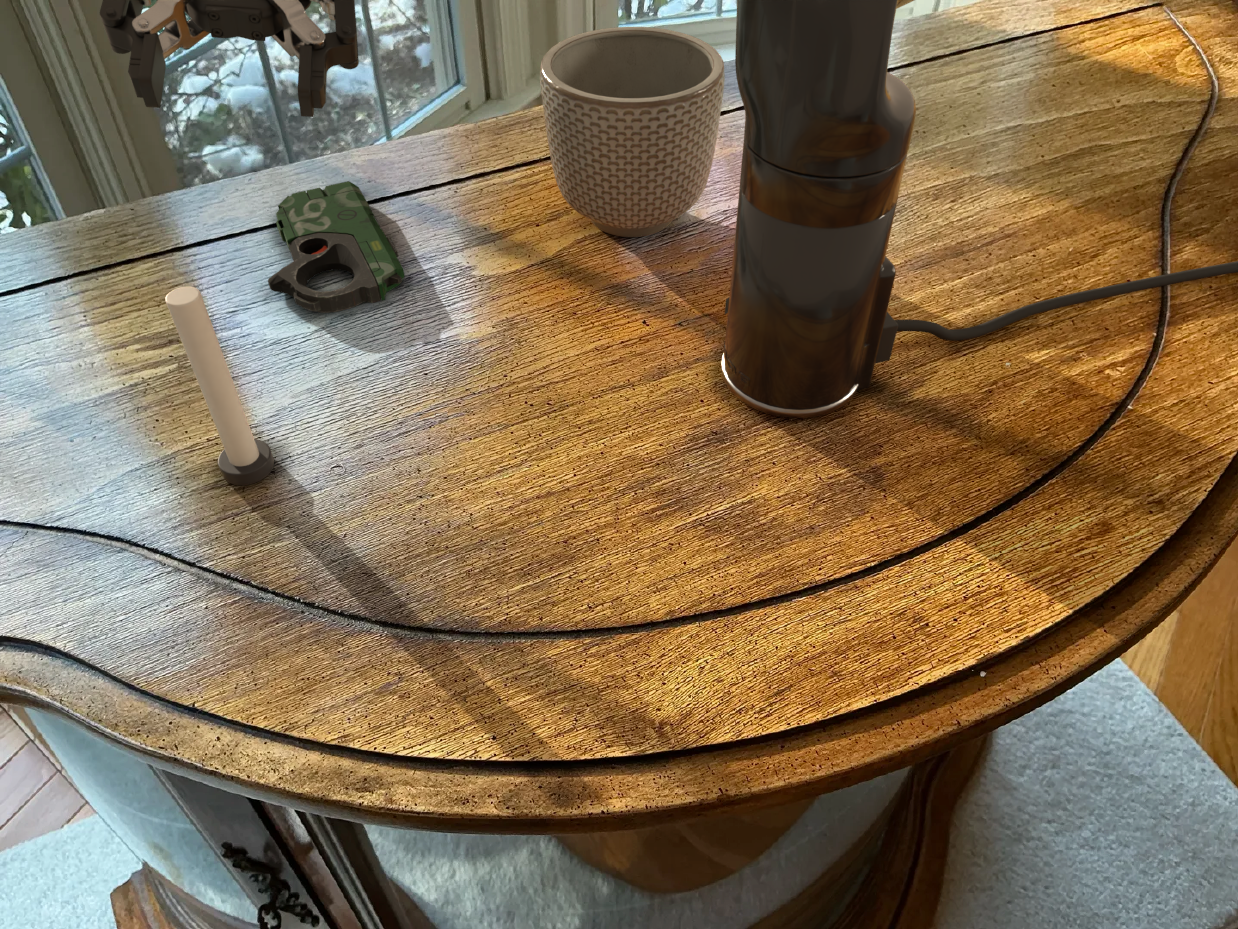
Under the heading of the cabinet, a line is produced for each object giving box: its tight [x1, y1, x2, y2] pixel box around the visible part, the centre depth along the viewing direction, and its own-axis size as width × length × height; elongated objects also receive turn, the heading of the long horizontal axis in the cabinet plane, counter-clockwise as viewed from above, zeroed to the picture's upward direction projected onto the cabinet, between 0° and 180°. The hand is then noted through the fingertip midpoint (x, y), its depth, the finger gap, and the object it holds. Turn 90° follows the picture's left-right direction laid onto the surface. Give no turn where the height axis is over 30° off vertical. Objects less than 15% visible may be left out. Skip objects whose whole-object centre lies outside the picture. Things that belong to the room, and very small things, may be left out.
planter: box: [539, 26, 726, 238], centre depth 78 cm, size 14×14×13 cm
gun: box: [267, 180, 406, 313], centre depth 78 cm, size 16×1×10 cm
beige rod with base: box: [164, 286, 275, 486], centre depth 57 cm, size 3×3×13 cm
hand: (228, 101), depth 57 cm, fingers open, 8 cm apart
